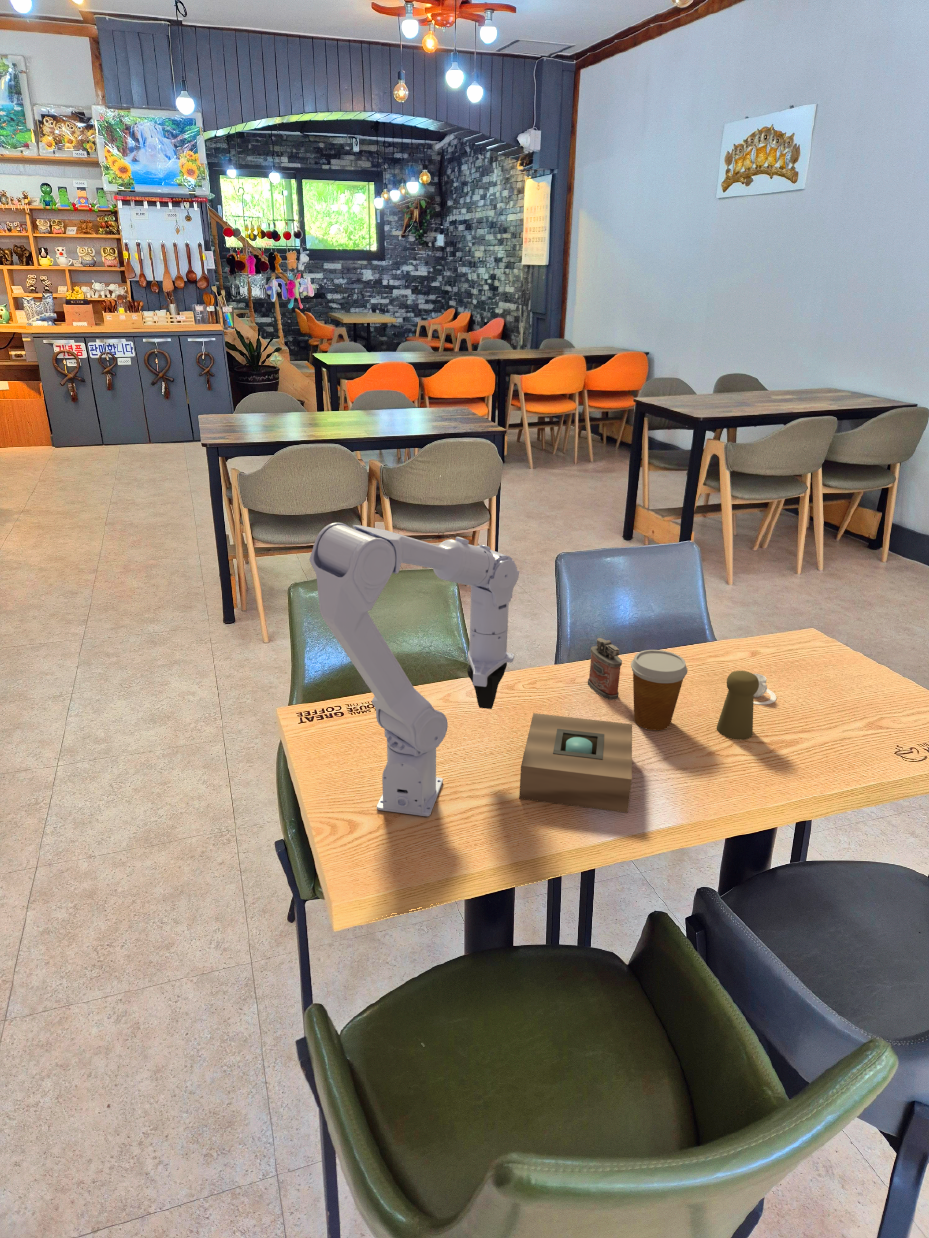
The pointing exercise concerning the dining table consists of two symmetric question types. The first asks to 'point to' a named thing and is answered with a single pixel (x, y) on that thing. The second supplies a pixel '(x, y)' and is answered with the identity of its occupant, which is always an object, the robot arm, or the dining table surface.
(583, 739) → the peg
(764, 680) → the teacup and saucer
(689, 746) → the dining table surface
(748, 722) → the olive green pawn
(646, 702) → the disposable coffee cup
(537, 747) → the block
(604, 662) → the lighter
